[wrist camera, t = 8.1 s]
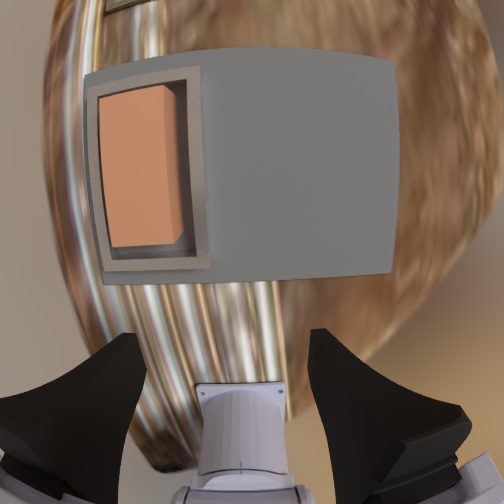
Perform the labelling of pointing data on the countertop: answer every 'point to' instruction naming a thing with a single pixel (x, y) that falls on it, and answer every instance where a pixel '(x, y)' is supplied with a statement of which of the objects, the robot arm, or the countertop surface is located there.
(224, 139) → the mat
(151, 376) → the countertop surface
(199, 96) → the tray frame
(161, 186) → the tall peach block
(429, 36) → the countertop surface
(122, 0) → the framed mirror
